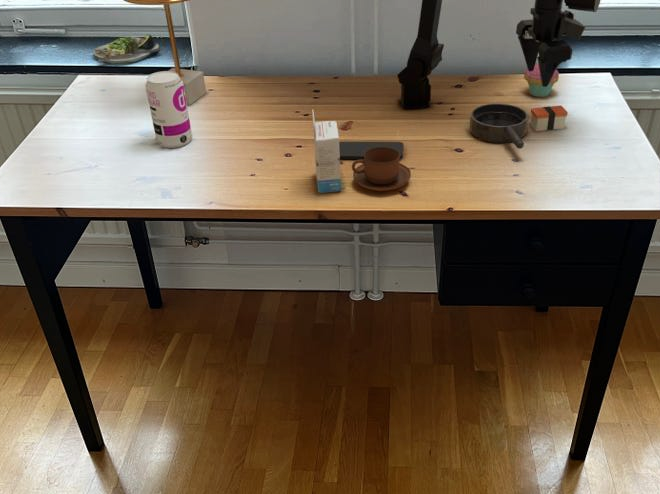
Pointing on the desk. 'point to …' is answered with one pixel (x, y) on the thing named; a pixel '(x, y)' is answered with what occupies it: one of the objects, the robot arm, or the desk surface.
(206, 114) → the desk surface
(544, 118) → the sushi
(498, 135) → the pan
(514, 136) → the pan handle
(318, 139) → the ink box
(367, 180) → the cup and saucer
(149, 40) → the salad plate
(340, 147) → the phone
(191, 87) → the lamp
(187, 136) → the supplement can
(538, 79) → the cupcake
